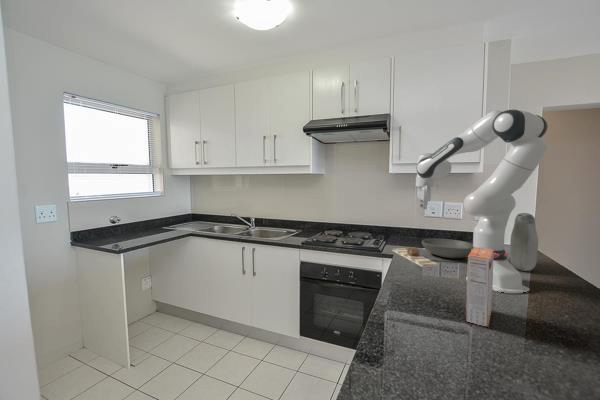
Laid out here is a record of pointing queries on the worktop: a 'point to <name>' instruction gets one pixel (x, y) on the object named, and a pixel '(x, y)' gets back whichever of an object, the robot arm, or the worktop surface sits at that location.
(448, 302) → the worktop surface
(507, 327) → the worktop surface
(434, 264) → the board
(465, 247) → the bowl
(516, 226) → the grey green vase
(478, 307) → the cracker box
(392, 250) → the mat
